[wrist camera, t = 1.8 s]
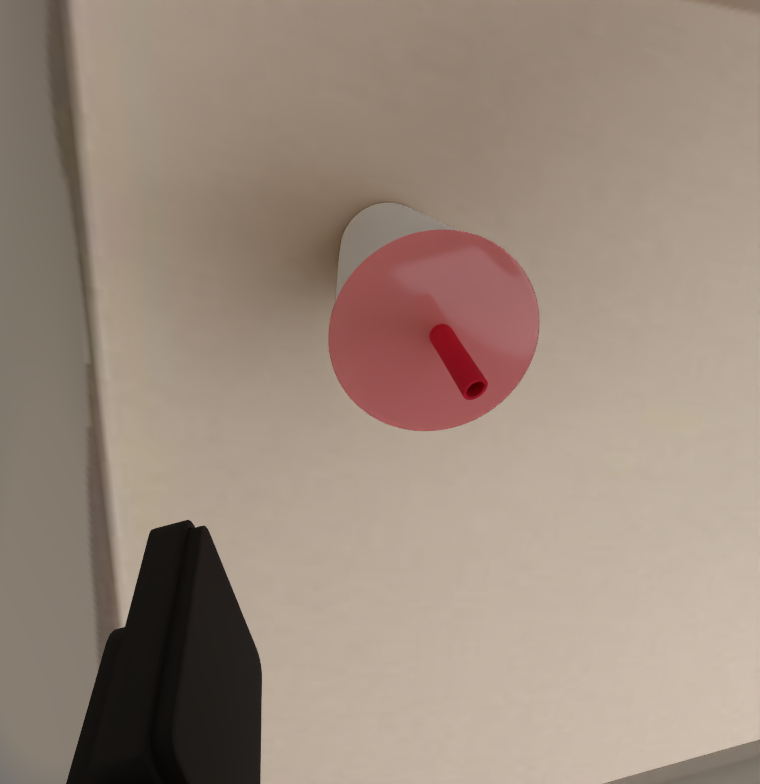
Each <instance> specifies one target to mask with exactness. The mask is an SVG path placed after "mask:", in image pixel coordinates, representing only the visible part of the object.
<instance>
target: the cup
mask: <svg viewBox="0 0 760 784" xmlns="http://www.w3.org/2000/svg"><path fill="white" fill-rule="evenodd" d="M538 334H539V310H538V304H537V299H536V296H535V292H534V290H533V287H532V285H531V282H530V280H529V279H528V277H527V275H526V273H525V272H524V270H523V269H522V268H521V266H520V265H519V264H518V263H517V261H516V260H515V259H514V258H513V257H512V256H511V255H510V254H509V253H507V252H506V251H505V250H504V249H502V248H501V247H500V246H498V245H496V244H495V243H493V242H491V241H489V240H487V239H485V238H483V237H481V236H478V235H475V234H472V233H468V232H463V231H458V230H456V229H454V228H452V227H450V226H447V225H445V224H443V223H441V222H439V221H437V220H435V219H433V218H431V217H429V216H427V215H425V214H423V213H421V212H418V211H416V210H414V209H411V208H409V207H407V206H404V205H401V204H397V203H379V204H375V205H372V206H370V207H367V208H365V209H364V210H362V211H361V212H359V213H358V214H357V215H356V216H355V217H354V218H353V219H352V220H351V221H350V222H349V224H348V225H347V227H346V229H345V231H344V233H343V236H342V240H341V245H340V254H339V263H338V276H337V289H336V302H335V305H334V308H333V311H332V315H331V319H330V325H329V352H330V358H331V362H332V366H333V369H334V371H335V374H336V376H337V378H338V380H339V382H340V384H341V386H342V387H343V389H344V390H345V392H346V393H347V394H348V396H349V397H350V398H351V399H352V400H353V401H354V402H355V403H356V404H357V405H358V406H359V407H360V408H361V409H362V410H364V411H365V412H366V413H368V414H369V415H371V416H372V417H374V418H376V419H378V420H380V421H382V422H384V423H386V424H389V425H392V426H395V427H398V428H402V429H408V430H415V431H435V430H443V429H448V428H453V427H456V426H460V425H463V424H465V423H468V422H470V421H473V420H475V419H477V418H479V417H481V416H482V415H484V414H486V413H487V412H489V411H490V410H492V409H493V408H495V407H496V406H497V405H498V404H500V403H501V402H502V401H503V400H504V399H505V398H506V397H507V396H508V395H509V394H510V393H511V392H512V391H513V390H514V388H515V387H516V386H517V385H518V383H519V382H520V381H521V379H522V378H523V376H524V374H525V373H526V371H527V369H528V367H529V365H530V363H531V360H532V358H533V355H534V352H535V349H536V345H537V340H538Z"/></svg>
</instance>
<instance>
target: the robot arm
mask: <svg viewBox="0 0 760 784" xmlns="http://www.w3.org/2000/svg"><path fill="white" fill-rule="evenodd" d="M261 697H262V671H261V664H260V659H259V655H258V652H257V649H256V646H255V644H254V641H253V639H252V636H251V634H250V632H249V629H248V627H247V624H246V622H245V619H244V617H243V614H242V612H241V609H240V607H239V604H238V602H237V599H236V597H235V595H234V592H233V590H232V587H231V585H230V582H229V580H228V577H227V575H226V572H225V570H224V567H223V565H222V562H221V560H220V557H219V555H218V553H217V550H216V548H215V545H214V543H213V540H212V538H211V535H210V533H209V531H208V529H207V528H206V526H200V527H197V528H195V526H194V525H193V523H192V522H191V521H189V520H186V521H182V522H178V523H174V524H170V525H167V526H163V527H159V528H155V529H153V530H151V532H150V534H149V537H148V541H147V545H146V549H145V552H144V556H143V560H142V564H141V568H140V572H139V576H138V579H137V583H136V587H135V591H134V595H133V599H132V603H131V607H130V610H129V614H128V618H127V622H126V626H125V627H123V628H120V629H116V630H114V631H113V632H112V633H111V634H110V636H109V638H108V640H107V643H106V646H105V649H104V653H103V656H102V660H101V663H100V667H99V670H98V674H97V677H96V681H95V684H94V688H93V691H92V695H91V699H90V702H89V706H88V709H87V713H86V716H85V720H84V723H83V727H82V730H81V734H80V737H79V741H78V744H77V748H76V751H75V755H74V758H73V762H72V765H71V769H70V772H69V776H68V780H67V783H66V784H260V762H261ZM604 784H760V740H757V741H753V742H749V743H746V744H742V745H739V746H735V747H732V748H728V749H725V750H721V751H717V752H714V753H710V754H707V755H703V756H700V757H696V758H693V759H689V760H685V761H682V762H678V763H675V764H671V765H668V766H664V767H661V768H657V769H653V770H650V771H646V772H643V773H639V774H636V775H632V776H629V777H625V778H622V779H618V780H615V781H611V782H608V783H604Z"/></svg>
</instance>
